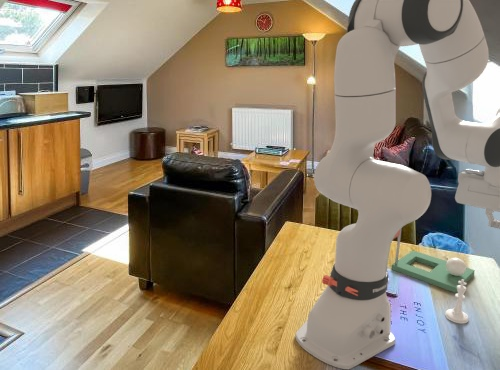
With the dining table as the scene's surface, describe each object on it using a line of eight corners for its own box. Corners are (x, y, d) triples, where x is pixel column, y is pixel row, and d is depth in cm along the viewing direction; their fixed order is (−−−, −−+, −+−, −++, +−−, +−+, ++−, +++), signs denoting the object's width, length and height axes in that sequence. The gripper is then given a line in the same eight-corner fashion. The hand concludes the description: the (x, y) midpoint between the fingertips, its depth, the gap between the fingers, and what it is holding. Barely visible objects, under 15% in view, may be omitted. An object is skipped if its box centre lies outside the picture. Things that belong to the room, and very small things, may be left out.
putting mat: (451, 297, 99) (459, 249, 95) (386, 272, 112) (391, 229, 108) (473, 274, 110) (481, 231, 106) (412, 254, 123) (417, 215, 119)
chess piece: (447, 308, 94) (453, 272, 91) (470, 316, 91) (477, 278, 88) (442, 318, 90) (448, 280, 88) (466, 326, 88) (472, 287, 85)
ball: (460, 281, 104) (463, 264, 102) (441, 274, 107) (444, 258, 106) (467, 274, 107) (470, 258, 106) (448, 268, 111) (451, 252, 109)
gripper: (455, 169, 99) (448, 219, 103) (553, 185, 85) (540, 242, 88) (463, 165, 103) (456, 214, 107) (559, 180, 89) (546, 235, 93)
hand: (495, 227), depth 97 cm, fingers closed
